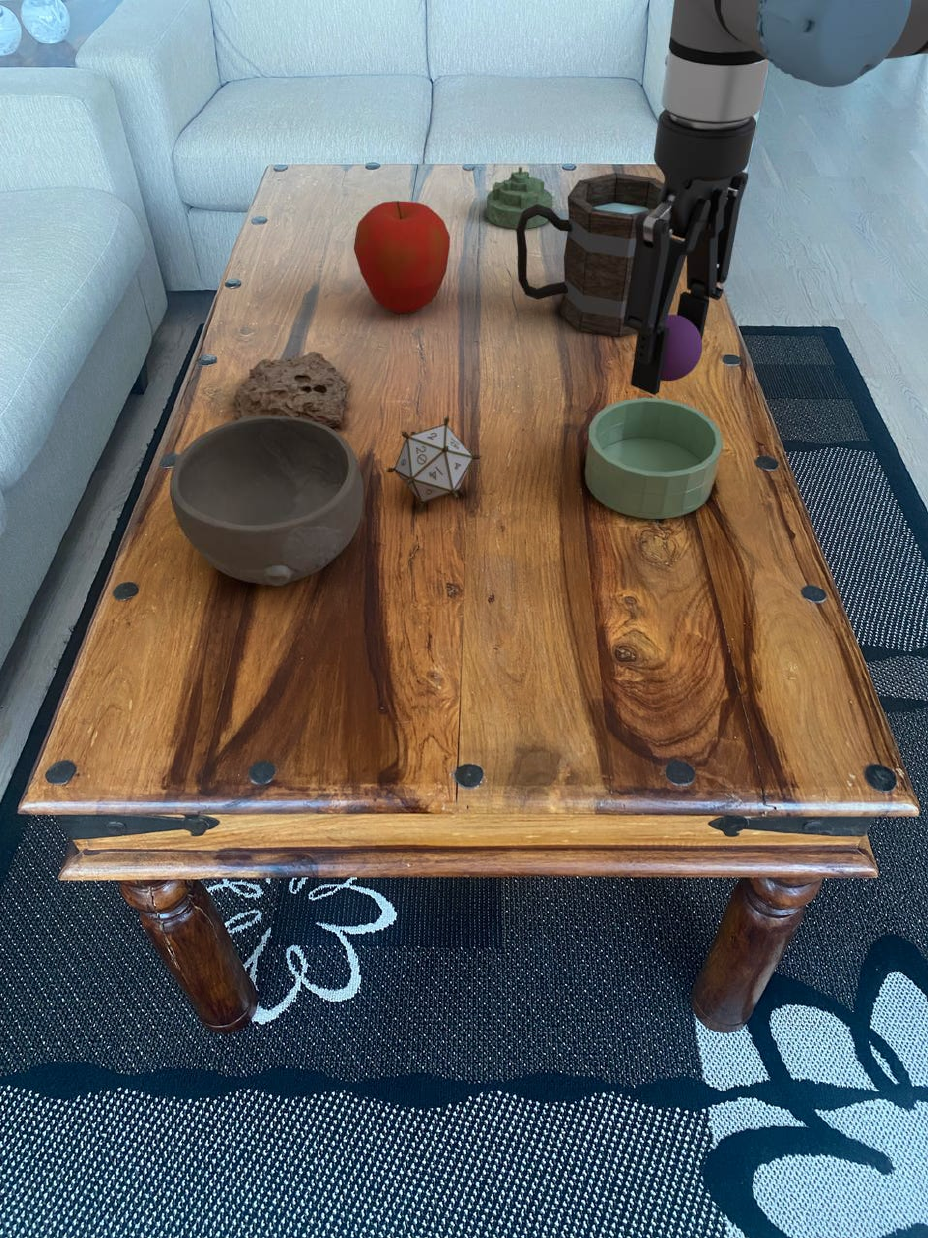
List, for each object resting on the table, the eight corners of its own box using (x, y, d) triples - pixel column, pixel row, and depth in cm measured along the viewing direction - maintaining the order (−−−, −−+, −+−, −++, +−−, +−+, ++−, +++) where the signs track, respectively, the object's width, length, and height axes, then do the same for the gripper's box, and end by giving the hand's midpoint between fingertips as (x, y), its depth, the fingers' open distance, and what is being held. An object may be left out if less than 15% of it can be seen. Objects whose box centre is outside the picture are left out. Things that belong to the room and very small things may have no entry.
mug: (652, 284, 127) (668, 171, 116) (671, 335, 117) (691, 217, 106) (509, 288, 126) (512, 175, 115) (517, 340, 117) (521, 222, 106)
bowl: (325, 627, 83) (311, 545, 76) (154, 585, 87) (125, 503, 80) (395, 510, 94) (388, 428, 87) (240, 477, 98) (221, 396, 91)
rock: (344, 433, 104) (341, 405, 101) (227, 433, 104) (220, 405, 101) (357, 362, 114) (354, 334, 111) (250, 362, 114) (244, 335, 111)
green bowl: (736, 474, 98) (747, 431, 94) (665, 537, 91) (674, 494, 87) (632, 425, 104) (638, 383, 100) (558, 481, 97) (562, 438, 93)
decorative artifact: (565, 215, 142) (521, 195, 147) (568, 168, 137) (522, 149, 142) (516, 234, 138) (473, 213, 143) (517, 186, 132) (473, 166, 138)
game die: (451, 528, 98) (479, 502, 88) (374, 506, 96) (394, 477, 86) (467, 451, 100) (496, 417, 90) (392, 428, 98) (414, 391, 88)
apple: (378, 338, 118) (368, 229, 107) (347, 297, 125) (335, 191, 115) (466, 317, 121) (464, 209, 111) (431, 278, 129) (426, 174, 118)
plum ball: (708, 374, 89) (720, 317, 84) (673, 401, 86) (683, 343, 81) (656, 352, 91) (664, 296, 87) (620, 377, 88) (628, 320, 84)
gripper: (730, 71, 78) (685, 322, 95) (596, 135, 68) (573, 401, 85) (811, 91, 74) (749, 347, 91) (682, 160, 65) (640, 432, 82)
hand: (664, 373), depth 88 cm, fingers closed on plum ball, 6 cm apart
